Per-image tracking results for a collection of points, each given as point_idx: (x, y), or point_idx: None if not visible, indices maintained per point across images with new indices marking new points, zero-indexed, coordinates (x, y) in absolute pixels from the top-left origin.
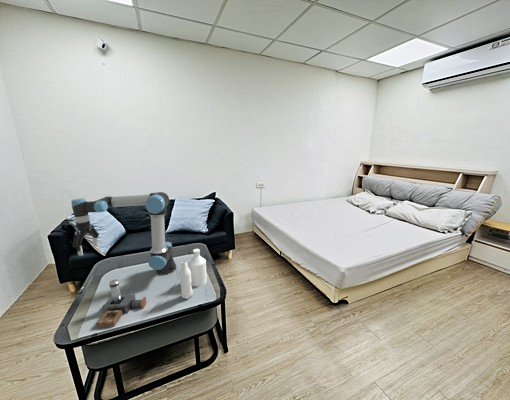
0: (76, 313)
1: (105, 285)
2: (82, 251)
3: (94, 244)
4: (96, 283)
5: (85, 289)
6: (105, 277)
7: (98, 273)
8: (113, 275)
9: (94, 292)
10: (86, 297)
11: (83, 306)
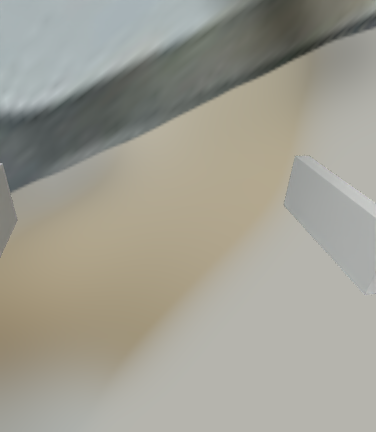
0: (369, 5)
1: (135, 8)
2: (326, 178)
3: (2, 225)
4: (116, 93)
5: (175, 115)
6: (44, 79)
7: (9, 163)
8: (8, 32)
9: (206, 35)
10: (248, 51)
11: (323, 7)
